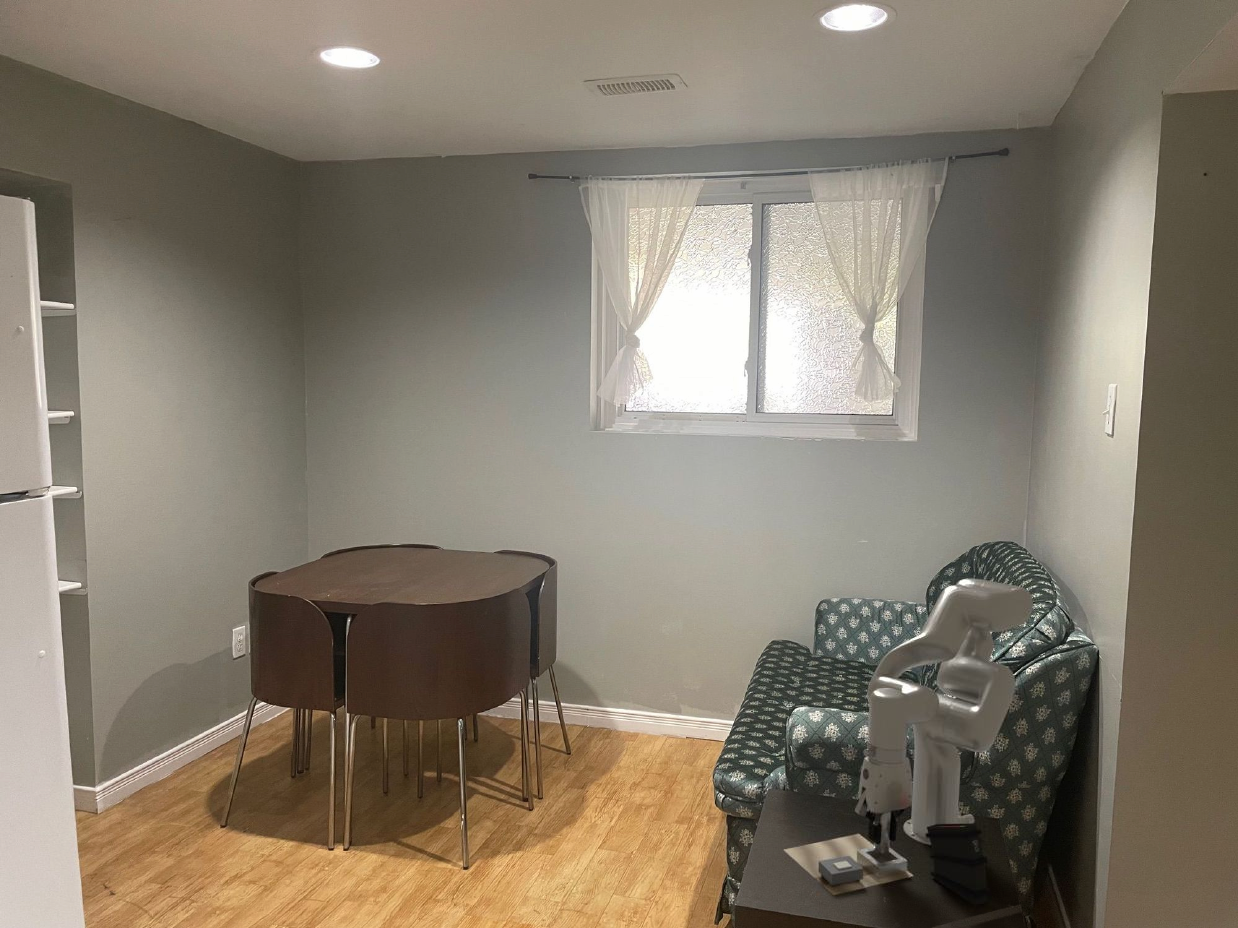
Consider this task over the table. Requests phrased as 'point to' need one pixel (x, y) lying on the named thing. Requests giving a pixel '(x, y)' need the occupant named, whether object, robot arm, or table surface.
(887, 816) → the awl
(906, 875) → the board
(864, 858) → the socket
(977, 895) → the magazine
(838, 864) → the block
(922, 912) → the table surface
